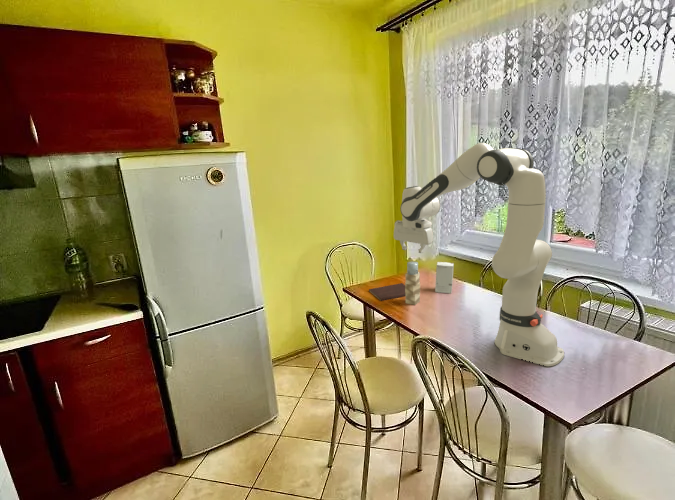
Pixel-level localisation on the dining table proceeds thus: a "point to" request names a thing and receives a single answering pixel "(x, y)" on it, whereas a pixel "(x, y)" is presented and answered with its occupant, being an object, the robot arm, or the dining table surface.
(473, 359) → the dining table surface
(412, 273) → the blue-grey rounded cube
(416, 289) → the tower mid
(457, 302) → the dining table surface
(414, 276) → the tower top
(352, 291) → the dining table surface
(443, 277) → the skincare box
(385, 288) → the notebook
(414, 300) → the tower base
